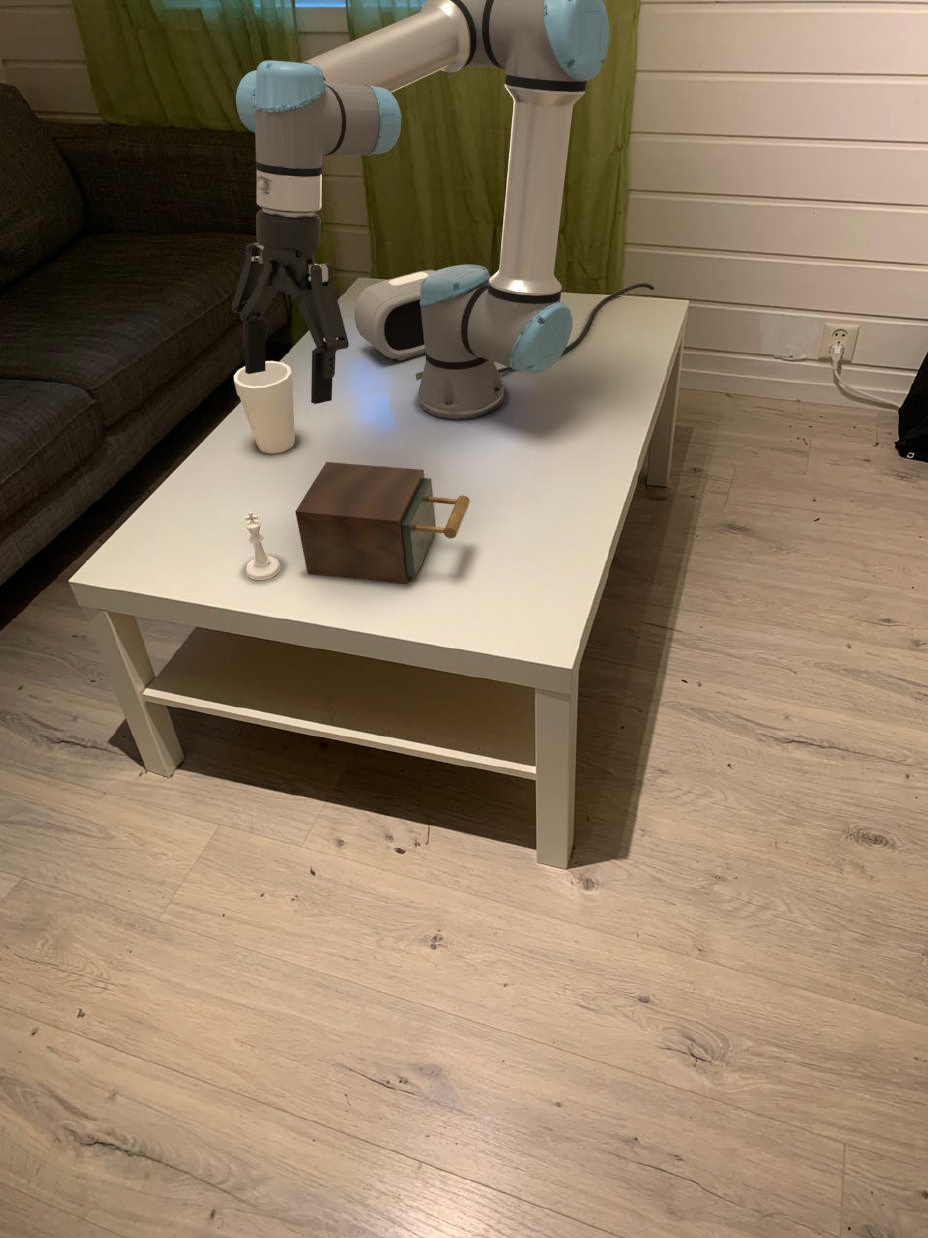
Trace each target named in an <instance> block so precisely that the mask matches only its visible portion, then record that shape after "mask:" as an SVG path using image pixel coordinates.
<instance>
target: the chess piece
mask: <svg viewBox="0 0 928 1238" xmlns="http://www.w3.org/2000/svg"><path fill="white" fill-rule="evenodd" d="M258 519H259V516H258V514H253V511H248V515H245V516H244V520H245V521H247V523H246V524H245V528H246V529H247V531H248V532H249V534H250V535H249V536H248V541H249V543H251V544H253V547H254V548H253V549H254V558H253V559H251V560H250V561H249V562H248V563H247V565H246V568H245V570H246V575H247V577H248V578H249V579H251V580H255V581H266V580H269V579H271V578H274V577H276V576H277V575H278V574H279V573H280V571H281V564H280V561H279V559H277V558H276V557H275V556H271V555H266V552H265V549H264V546H263V544H262V542H263V541H264V539H265V536H264V535H263V534H262V533H261V531H260V530H261V521H259V520H258Z"/></svg>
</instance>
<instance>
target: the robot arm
mask: <svg viewBox="0 0 928 1238" xmlns="http://www.w3.org/2000/svg"><path fill="white" fill-rule="evenodd" d="M609 43H610V21H609V17H608V13H607V9H606V5H605V3H603V0H427V1H425V3H424V4H423V5H422V7H421V9H420V12H417V13H415V14H413V15H410V16H408V17H406V18H403V19H400V20H399V21H397V22H395V23H391V24H389V25H386V26H385V27H383V28H380V29H377V30H375V31H373V32H371V33H369V34H366V35H364V36H361V37H358V38H357V39H353V40H352V41H349V42H347V43H345V44H343V45H340V46H338V47H336V48H333V49H331V50H328V51H326V52H323V53H321V54H319V55H317V56H314V57H312V58H310V59H307V60H305V61H302V62H294V61H285V60H284V61H282V60H264V61H262V62H260V63H259V64H258V65H257V68H256V69H255V70H252V71H250V72H248V73H246V74H245V75H244V76H243V77H242V78H241V80H240V82H239V84H238V86H237V90H236V94H235V104H236V106H235V107H236V111H237V114H238V117H239V120H240V121H241V123H242V124H243V126H244V127H245V128H246V129H247V130H249V131H250V132H251V133H254V134H255V168H256V204H257V206H258V207H259V208H261V209H259V210H258V211H257V212H256V214H255V217H256V218H255V223H256V225H255V226H256V227H255V229H256V230H255V231H256V233H255V234H256V238H255V239H256V242H253V243H250V242H249V243H246V245H245V256H244V257H245V259H244V264H243V267H242V270H241V274H240V277H239V280H238V283H237V286H236V290H235V293H234V295H233V298H232V299H233V300H232V303H231V311H232V312H233V313H235V314H238V315H239V318H240V321H242V330H243V331H242V332H243V344H244V367H245V373H247V374H252V373H258V372H263V371H265V361H266V321H265V320H262V319H265V318H266V317H265V316H264V313H265V311H266V310H267V308H268V307H269V305H270V304H271V302H272V301H273V299H274V297H275V296H276V295H277V293H278V292H279V291H281V292H282V293H284V294H285V295H288V296H290V297H291V299H292V301H294V302H295V303H296V304H297V305H298V307H299V311H300V312H301V314H302V317H303V319H304V322H305V323H306V326H307V328H308V331H309V333H310V335H311V338H312V340H313V343H314V344H315V348H314V349H312V350H311V384H310V385H311V386H310V387H311V388H310V389H311V391H310V392H311V393H310V398H311V399H310V403H311V404H314V405H318V404H322V403H326V402H331V401H333V378H334V377H335V374H336V353H337V351H341V350H346V349H348V348H349V345H350V344H349V343H350V342H349V338H348V334H347V331H346V328H345V323H344V319H343V316H342V312H341V308H340V304H339V300H338V295H337V292H336V289H335V284H334V268H333V265H332V264H331V263H320V264H319V263H316V262H315V257H314V253H315V251H316V250H317V249H318V248H319V247H320V245H321V222H322V219H321V217H320V215H319V214H318V213H317V212H319V211H321V209H322V184H323V183H322V180H323V179H322V174H323V157H324V156H365V157H371V156H373V155H380V154H381V155H382V154H385V153H387V152H389V151H390V150H392V149H393V147H395V145H396V144H397V142H398V140H399V137H400V135H401V131H402V130H401V129H402V128H401V126H402V112H401V107H400V105H399V102H398V101H397V99H396V98H395V96H394V94H393V93H394V92H396V91H398V90H400V89H402V88H404V87H407V86H408V85H411V84H413V83H415V82H417V81H419V80H421V79H424V78H426V77H428V76H430V75H432V74H434V73H437V72H438V71H442V72H445V73H455V72H458V71H459V70H462V69H464V68H469V67H486V68H487V67H488V68H495V69H501V70H505V78H504V87H505V89H506V91H507V92H508V93H509V94H510V97H512V100H513V106H512V108H513V109H512V118H511V131H510V141H509V142H510V143H509V154H508V165H507V177H506V186H505V187H506V189H505V197H504V198H505V199H504V212H503V223H502V232H501V243H500V244H501V246H500V257H499V267H498V270H497V271H496V272H495V273H494V274H493V275H490V273H489V270H488V269H487V267H485V266H483V265H478V264H458V265H452V266H447V267H443V268H441V269H438V270H434V271H435V272H433V273H431V274H430V275H428V276H427V277H426V278H425V279H424V280H423V281H422V283H421V287H420V293H421V301H420V307H421V316H422V326H423V335H424V345H425V353H424V354H425V362H424V367H423V371H420V372H417V373H415V380H416V381H419V380H420V383H419V387H418V402H419V406H420V407H421V408H422V410H423V411H425V412H426V413H427V414H428V415H432V416H434V417H438V418H440V419H446V420H468V419H473V418H479V417H482V416H485V415H487V414H489V413H492V412H493V411H495V410H497V409H498V408H499V407H500V406H501V405H502V403H503V401H504V398H505V389H504V383H503V381H502V378H501V376H500V374H502V373H505V372H509V371H512V370H514V371H517V372H520V371H521V372H525V373H529V374H534V375H535V374H541V373H544V372H545V371H547V370H549V369H550V368H551V367H552V366H554V365H555V363H557V362H558V360H559V358H560V357H561V356H562V355H563V354H565V353H566V352H568V351H570V350H571V349H573V348H574V347H575V346H577V345H578V344H579V343H580V342H581V341H582V339H583V338H584V337H585V334H586V333H587V331H588V329H589V327H590V325H591V323H592V321H593V318H594V316H595V314H596V313H597V311H598V310H599V309H600V308H601V307H602V306H603V305H604V304H606V303H607V302H608V301H610V300H611V299H614V298H616V297H618V296H620V295H622V294H625V293H627V292H629V291H632V290H634V289H638V288H647V289H649V290H651V291H654V290H655V287H654V286H653V285H651V284H650V283H645V282H643V283H636V284H633V285H630V286H627V287H626V288H623V289H621V290H618V291H616V292H615V293H612V294H609V295H608V296H606V297H605V298H603V299H602V300H601V301H600V302H599V303H598V304H596V306H595V307H594V308H592V311H591V312H590V314H589V316H588V319H587V321H586V323H585V325H584V327H583V329H582V330H581V333H579V335H578V337H577V338H576V339H575V340H573V342H571V343H570V344H568V343H569V341H570V338H571V335H572V330H573V323H574V322H573V321H574V320H573V315H572V313H571V310H570V308H569V307H568V306H567V305H566V304H565V303H563V302H561V299H562V298H561V296H562V289H563V288H562V284H561V283H560V282H559V280H558V279H557V278H556V276H555V265H556V256H557V247H558V240H559V231H560V224H561V223H560V221H561V215H562V214H561V213H562V205H563V204H562V203H563V196H564V189H565V188H564V187H565V179H566V170H567V161H568V153H569V144H570V135H571V127H572V119H573V110H574V105H575V104H576V103H577V102H578V101H579V100H580V99H581V98H582V97H583V96H584V95H585V94H586V89H587V82H588V81H590V80H593V78H595V77H596V76H597V75H598V74H599V72H600V71H601V70H602V67H603V66H602V65H603V63H604V62H605V61H606V58H607V56H608V50H609V45H610V44H609ZM496 364H499V365H501V366H505V367H502V368H500V369H499V368H497V365H496Z"/></svg>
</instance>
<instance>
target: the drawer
mask: <svg viewBox="0 0 928 1238" xmlns="http://www.w3.org/2000/svg"><path fill="white" fill-rule="evenodd" d="M432 480H433V479H432V478H431V477H425V478H423V480H422V482H421V484H420V486H419V488H418V491H417V493H416V495H415V497H414V498H413V500H412V502H411V504H410V506H409V508H408V510H407V512H406V514H405V516H404V518H403V521H402V524H401V527H402V536H403V544H404V553H405V561H406V570H407V576H410V577H409V578H411V577H412V578H416V576H417V574H418V571H419V570H420V567H421V565H422V562H423V560H424V558H425V555H426V554H427V551H428V548H429V546H430V545H431V542H432V539H433V537H434V535H435V534H442V535H444V536H445V537H446V538H447V539H452V540H453V539H455V538H456V537H457V535H458V533H459V530H460V527H461V525H462V522H463V520H464V518H465V515H466V513H467V510H468V508H469V505H470V502H471V500H470V498H469V497H468V496H466V495H459V496H458V497H457V498H447V497H437V496H434V493H433V492H434V491H433V481H432ZM435 504H443V505H454V506H453V508H452V511H451V513H450V515H449V518H448V520H447V522H446V525H445V527H439V526H437V525H436V514H435Z"/></svg>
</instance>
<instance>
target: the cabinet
mask: <svg viewBox="0 0 928 1238" xmlns="http://www.w3.org/2000/svg"><path fill="white" fill-rule="evenodd" d="M423 478H426V477H425V469H420V468H419V469H417V468H408V467H407V468H405V467H395V466H394V467H393V466H383V465H382V466H381V465H369V464H357V463H346V462H333V461H326V462H325V463H324V465H323V466H322V468H321V470H320V471H319V473H318V474H317V475H316V478H315V479H314V480H313V482H312V484H311V485H310V487H309V488H308V490H307V491H306V493H305V495H304V497H303V498H302V500H301V502H299V504H298V506H297V508H296V510H295V511H294V513H295V516H296V523H297V528H298V532H299V533H298V534H299V538H300V542H301V543H300V544H301V548H302V551H303V552H302V554H303V558H304V563H305V567H306V573H307V574H309V575H319V576H325V577H326V576H329V577H337V578H346V579H355V580H363V581H373V582H374V581H375V582H381V583H391V584H393V583H394V584H401V585H407V583H408V581H409V579H410V578H411V577H410V576H407V570H406V561H405V553H404V544H403V536H402V527H401V524H402V521H403V518H404V516H405V514H406V512H407V510H408V508H409V506H410V504H411V502H412V500H413V498H414V497H415V495H416V493H417V491H418V488H419V486H420V484H421V482H422V480H423Z"/></svg>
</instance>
